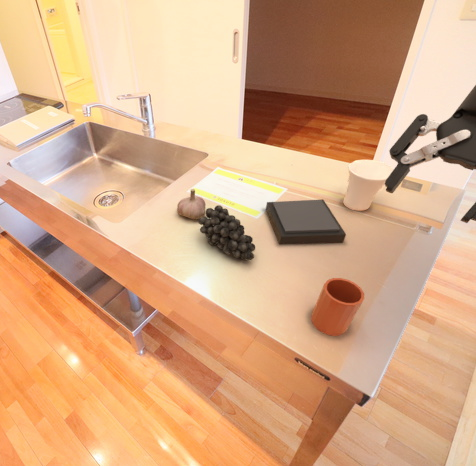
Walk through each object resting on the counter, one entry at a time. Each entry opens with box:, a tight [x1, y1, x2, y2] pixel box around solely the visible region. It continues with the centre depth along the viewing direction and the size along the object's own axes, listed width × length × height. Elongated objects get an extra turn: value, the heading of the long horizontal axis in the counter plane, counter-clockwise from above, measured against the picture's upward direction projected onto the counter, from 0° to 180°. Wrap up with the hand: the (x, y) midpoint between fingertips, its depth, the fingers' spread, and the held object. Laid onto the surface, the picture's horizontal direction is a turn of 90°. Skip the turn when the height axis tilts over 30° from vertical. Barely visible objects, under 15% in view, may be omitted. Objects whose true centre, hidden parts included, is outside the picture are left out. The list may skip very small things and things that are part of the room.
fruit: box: [197, 204, 256, 261], centre depth 70 cm, size 9×8×15 cm
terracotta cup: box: [310, 277, 365, 337], centre depth 53 cm, size 5×5×8 cm
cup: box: [342, 159, 395, 212], centre depth 75 cm, size 9×9×10 cm
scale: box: [265, 199, 347, 245], centre depth 74 cm, size 13×13×3 cm
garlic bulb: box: [176, 188, 206, 220], centre depth 81 cm, size 8×7×8 cm
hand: (424, 205), depth 42 cm, fingers open, 8 cm apart
